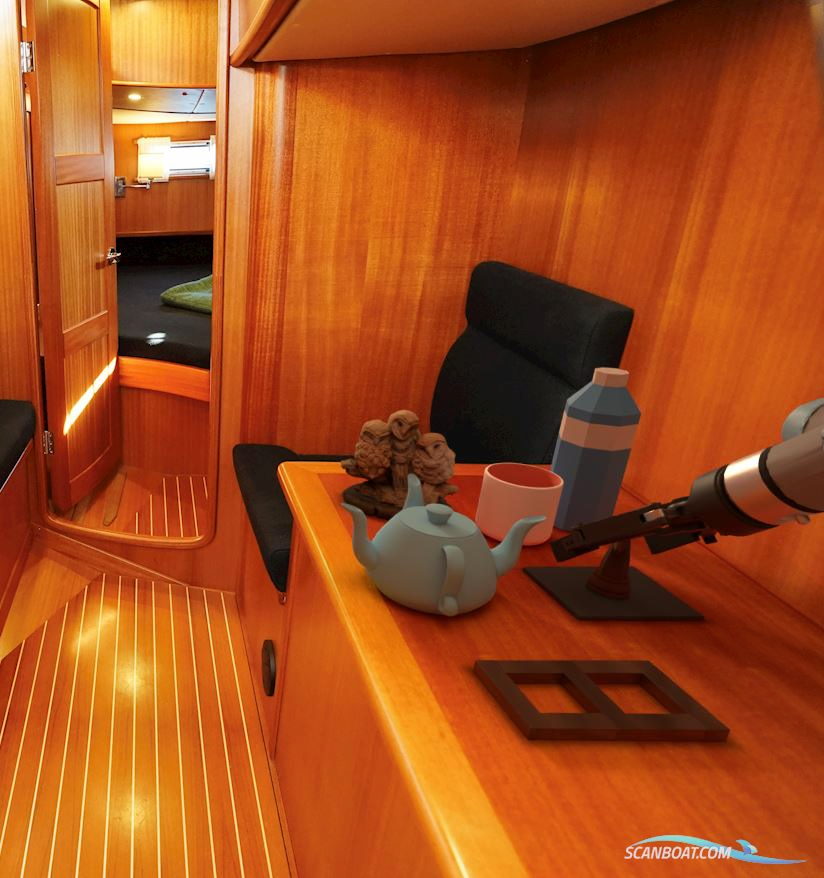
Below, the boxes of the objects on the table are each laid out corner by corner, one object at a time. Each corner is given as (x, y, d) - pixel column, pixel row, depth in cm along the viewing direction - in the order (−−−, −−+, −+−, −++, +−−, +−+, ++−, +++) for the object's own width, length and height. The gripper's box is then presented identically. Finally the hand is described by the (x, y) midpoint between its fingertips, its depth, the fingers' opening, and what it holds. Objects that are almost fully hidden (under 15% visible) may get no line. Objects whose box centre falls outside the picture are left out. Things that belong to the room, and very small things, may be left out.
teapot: (395, 542, 108) (406, 469, 104) (529, 594, 94) (549, 512, 90) (330, 579, 99) (339, 501, 95) (467, 643, 85) (486, 555, 80)
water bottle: (527, 507, 118) (560, 363, 109) (588, 509, 116) (626, 363, 108) (557, 533, 109) (596, 379, 100) (623, 535, 108) (668, 379, 99)
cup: (459, 527, 112) (470, 469, 109) (501, 514, 116) (513, 458, 112) (520, 555, 103) (534, 493, 100) (564, 540, 107) (579, 480, 103)
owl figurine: (335, 513, 118) (347, 418, 112) (336, 486, 128) (347, 397, 122) (457, 529, 111) (476, 428, 105) (447, 499, 122) (464, 405, 116)
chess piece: (582, 590, 93) (600, 524, 90) (590, 576, 96) (608, 511, 93) (625, 604, 90) (646, 535, 87) (633, 588, 93) (653, 521, 90)
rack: (645, 671, 79) (648, 660, 79) (726, 741, 69) (730, 729, 69) (472, 670, 80) (474, 659, 80) (527, 739, 70) (530, 728, 70)
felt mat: (632, 569, 99) (633, 566, 98) (703, 620, 87) (704, 616, 87) (522, 570, 99) (523, 566, 99) (578, 620, 88) (579, 616, 88)
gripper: (663, 536, 72) (526, 583, 91) (882, 518, 74) (702, 568, 93) (631, 469, 75) (505, 528, 94) (842, 453, 77) (676, 515, 96)
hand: (602, 548), depth 94 cm, fingers open, 13 cm apart
